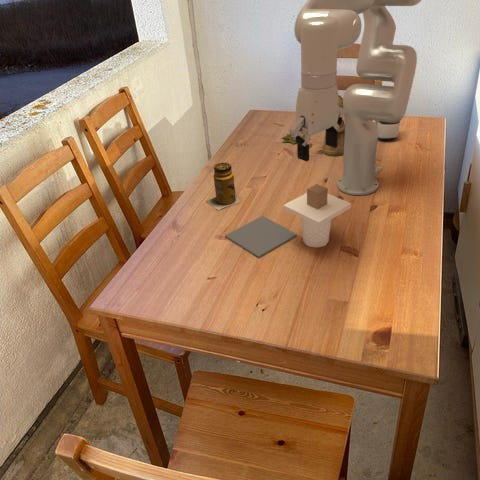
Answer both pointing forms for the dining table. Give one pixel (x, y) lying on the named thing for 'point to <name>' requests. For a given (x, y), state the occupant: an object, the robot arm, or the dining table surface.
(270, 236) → the grey flat square slab
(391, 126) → the spread jar
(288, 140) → the green leafy plant
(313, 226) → the white cup
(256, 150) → the dining table surface
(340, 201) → the lid
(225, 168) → the condiment
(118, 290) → the dining table surface
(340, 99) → the brass finial ornament
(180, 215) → the dining table surface
